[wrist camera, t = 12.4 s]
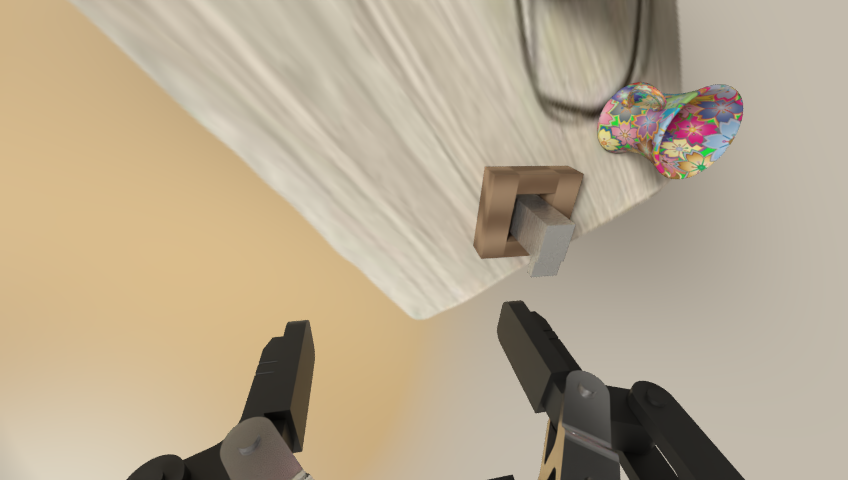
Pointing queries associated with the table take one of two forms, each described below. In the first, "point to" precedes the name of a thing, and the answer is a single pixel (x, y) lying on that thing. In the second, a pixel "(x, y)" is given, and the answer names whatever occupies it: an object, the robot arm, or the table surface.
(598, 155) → the table surface
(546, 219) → the grey rectangular block
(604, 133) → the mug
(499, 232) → the well block
